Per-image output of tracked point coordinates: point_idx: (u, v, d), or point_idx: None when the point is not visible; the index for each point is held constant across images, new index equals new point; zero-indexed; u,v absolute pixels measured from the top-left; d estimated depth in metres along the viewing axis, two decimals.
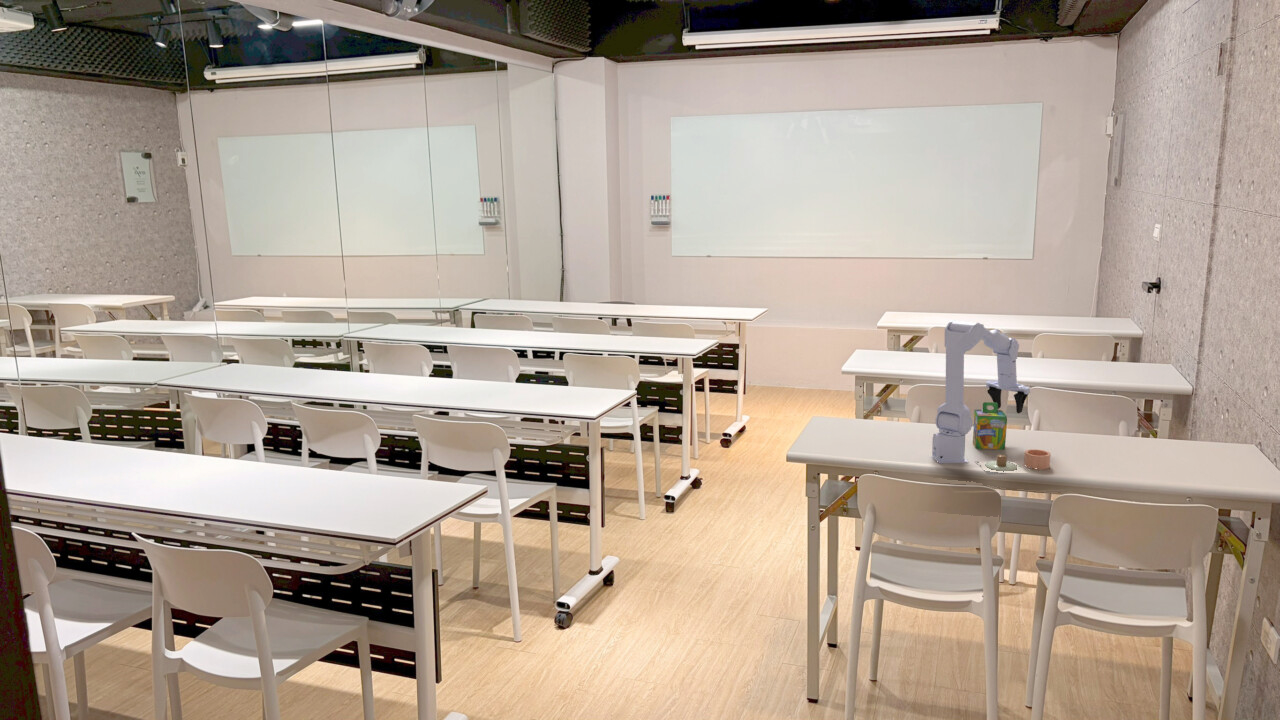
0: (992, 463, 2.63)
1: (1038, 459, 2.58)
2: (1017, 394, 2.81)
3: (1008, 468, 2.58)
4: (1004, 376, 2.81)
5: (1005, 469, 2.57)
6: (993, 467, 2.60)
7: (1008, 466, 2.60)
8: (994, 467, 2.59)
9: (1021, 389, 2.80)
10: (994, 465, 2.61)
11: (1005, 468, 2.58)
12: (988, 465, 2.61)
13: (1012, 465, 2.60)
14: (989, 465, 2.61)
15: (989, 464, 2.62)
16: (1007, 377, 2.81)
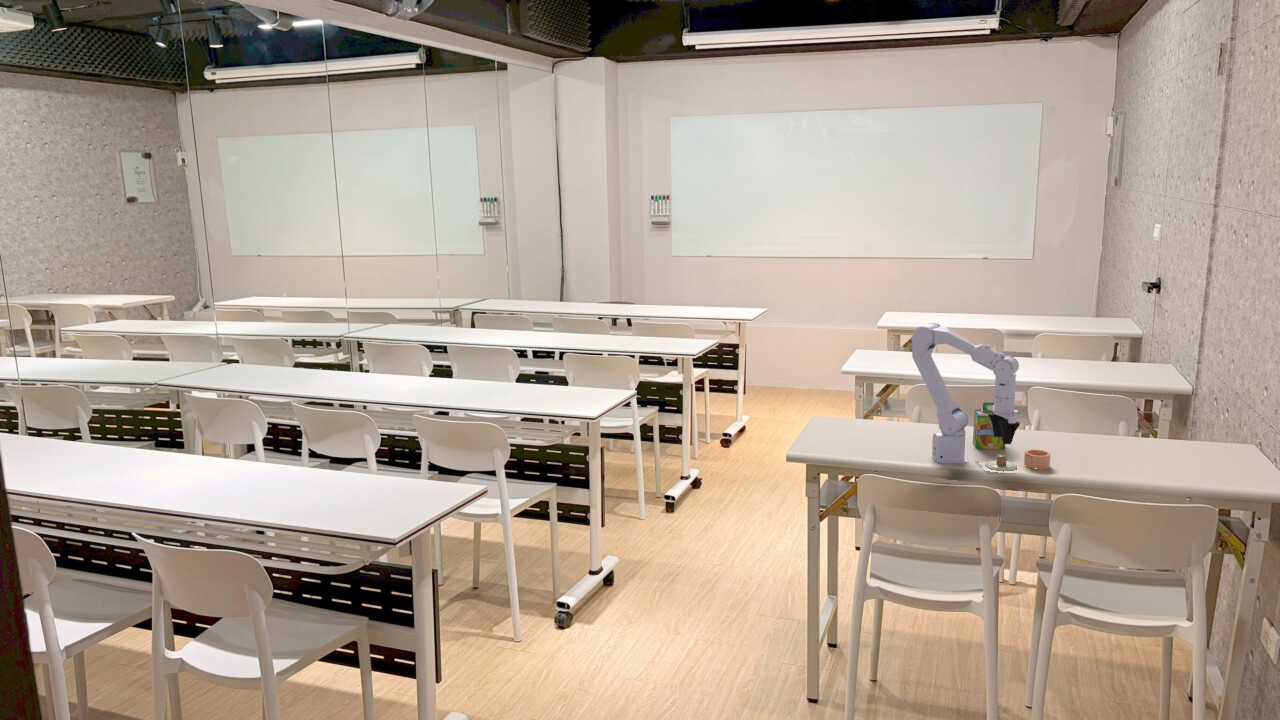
0: (992, 463, 2.63)
1: (1038, 459, 2.58)
2: (1002, 421, 2.54)
3: (1008, 468, 2.58)
4: (996, 399, 2.57)
5: (1005, 469, 2.57)
6: (993, 467, 2.59)
7: (1008, 466, 2.60)
8: (994, 467, 2.59)
9: (1006, 416, 2.52)
10: (994, 465, 2.61)
11: (1005, 468, 2.58)
12: (988, 465, 2.61)
13: (1012, 465, 2.60)
14: (989, 465, 2.61)
15: (989, 464, 2.62)
16: (998, 400, 2.56)
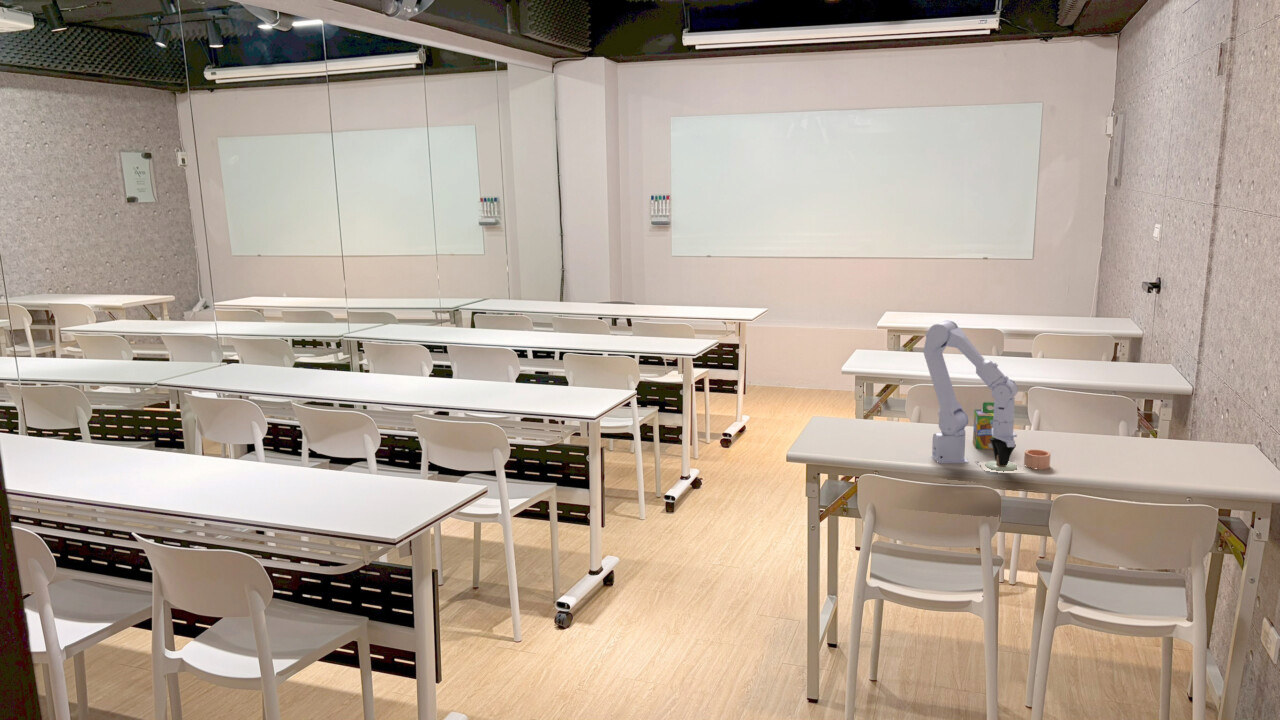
0: (992, 463, 2.63)
1: (1038, 459, 2.58)
2: (998, 443, 2.57)
3: (1008, 468, 2.58)
4: (995, 422, 2.58)
5: (1005, 469, 2.57)
6: (993, 467, 2.59)
7: (1008, 466, 2.60)
8: (994, 467, 2.59)
9: (1005, 440, 2.54)
10: (994, 465, 2.61)
11: (1005, 468, 2.58)
12: (988, 465, 2.61)
13: (1012, 465, 2.61)
14: (989, 465, 2.61)
15: (989, 464, 2.62)
16: (997, 424, 2.57)
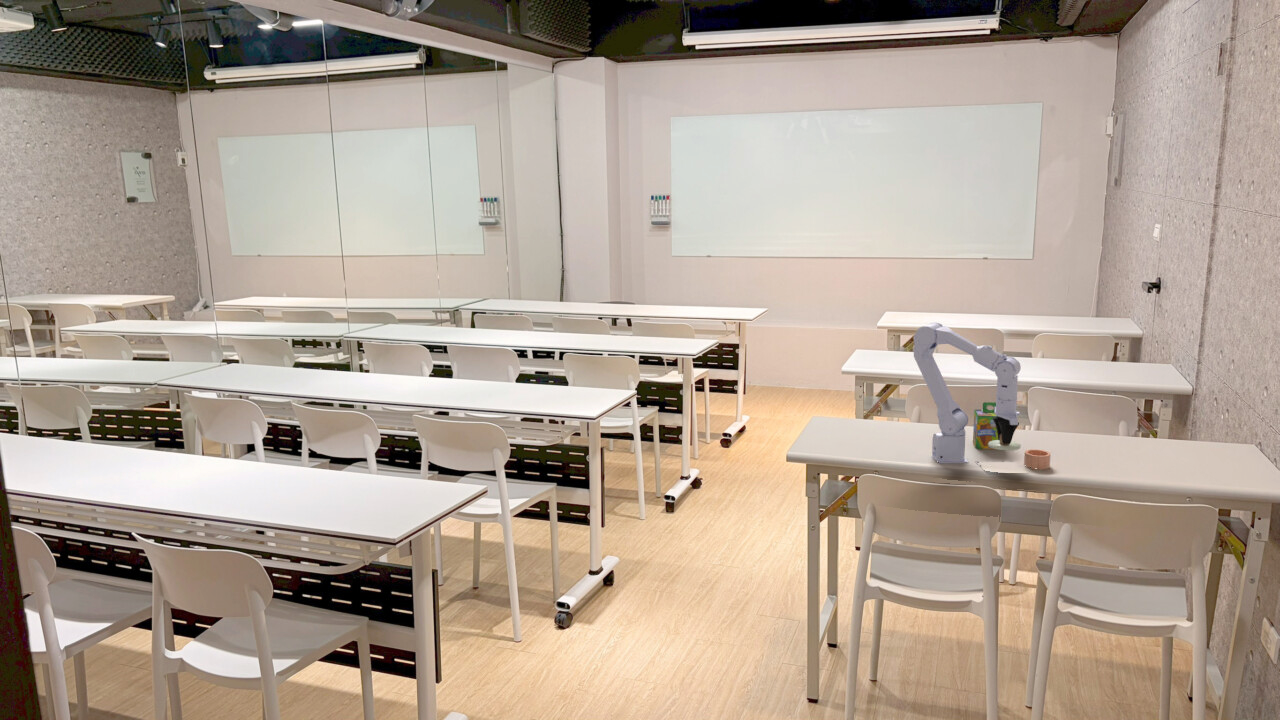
0: (995, 442, 2.62)
1: (1038, 459, 2.58)
2: (1001, 421, 2.56)
3: (1011, 446, 2.57)
4: (998, 400, 2.57)
5: (1008, 447, 2.56)
6: (996, 446, 2.58)
7: (1011, 445, 2.59)
8: (997, 446, 2.58)
9: (1008, 418, 2.53)
10: (997, 444, 2.60)
11: (1008, 446, 2.57)
12: (991, 444, 2.60)
13: (1015, 444, 2.59)
14: (992, 444, 2.60)
15: (992, 443, 2.61)
16: (1000, 402, 2.56)
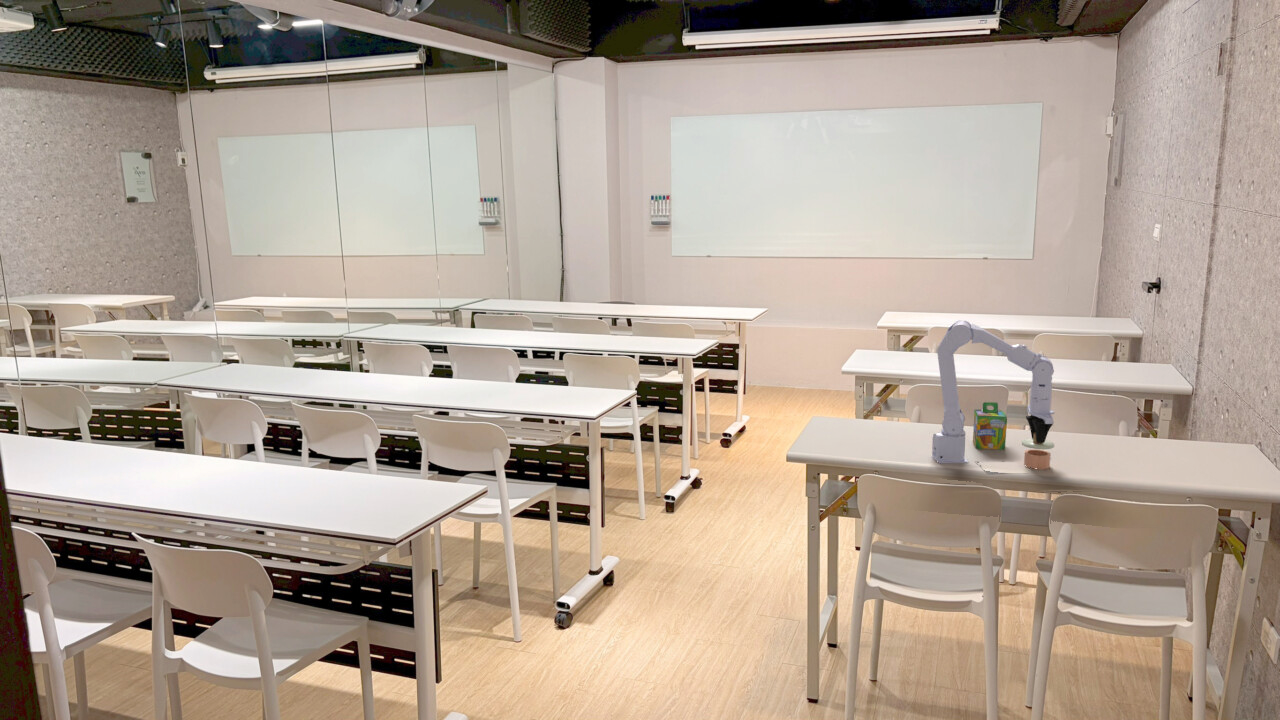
0: (1028, 441, 2.62)
1: (1038, 459, 2.58)
2: (1036, 420, 2.56)
3: (1045, 445, 2.57)
4: (1032, 399, 2.57)
5: (1043, 446, 2.56)
6: (1030, 444, 2.58)
7: (1045, 443, 2.59)
8: (1031, 444, 2.58)
9: (1043, 417, 2.53)
10: (1031, 443, 2.60)
11: (1042, 445, 2.57)
12: (1025, 443, 2.60)
13: (1049, 443, 2.60)
14: (1026, 443, 2.60)
15: (1026, 442, 2.61)
16: (1034, 401, 2.56)
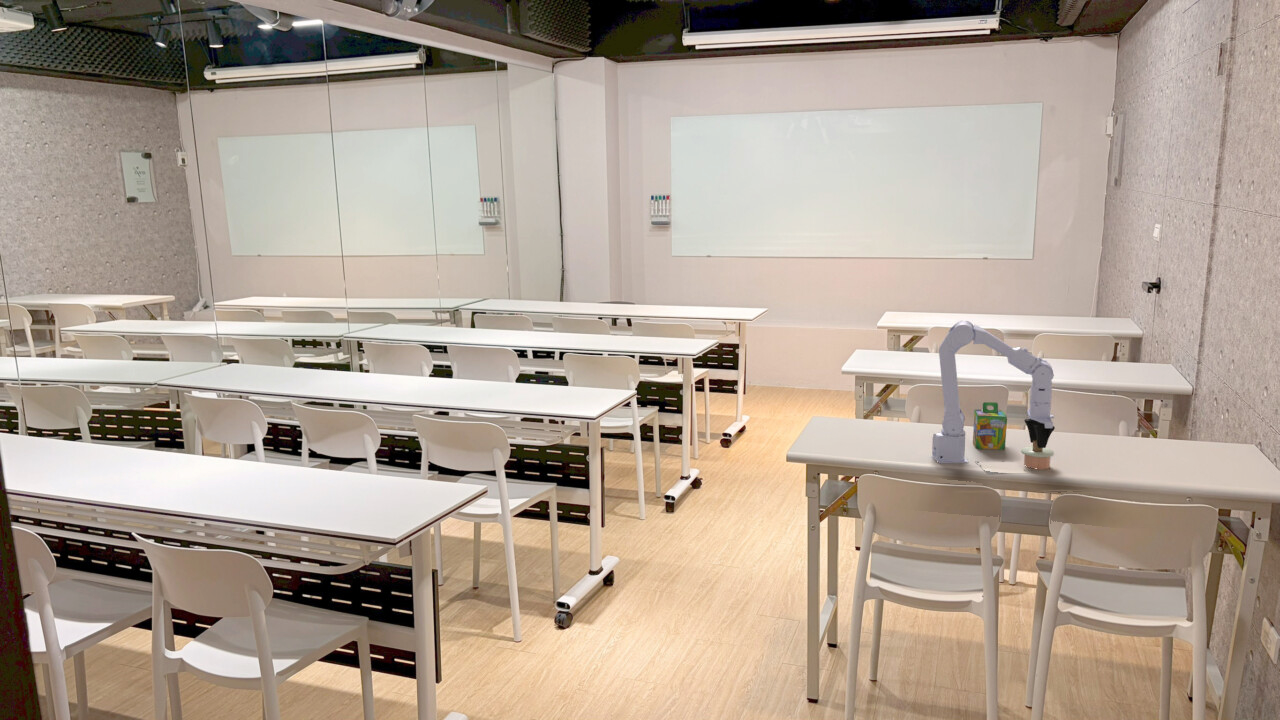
0: (1028, 449, 2.63)
1: (1038, 459, 2.58)
2: (1037, 425, 2.56)
3: (1045, 453, 2.58)
4: (1032, 403, 2.57)
5: (1042, 454, 2.57)
6: (1030, 453, 2.59)
7: (1044, 451, 2.59)
8: (1031, 452, 2.59)
9: (1042, 421, 2.53)
10: (1030, 451, 2.61)
11: (1042, 453, 2.58)
12: (1024, 451, 2.61)
13: (1049, 451, 2.60)
14: (1025, 451, 2.61)
15: (1025, 450, 2.62)
16: (1034, 405, 2.56)
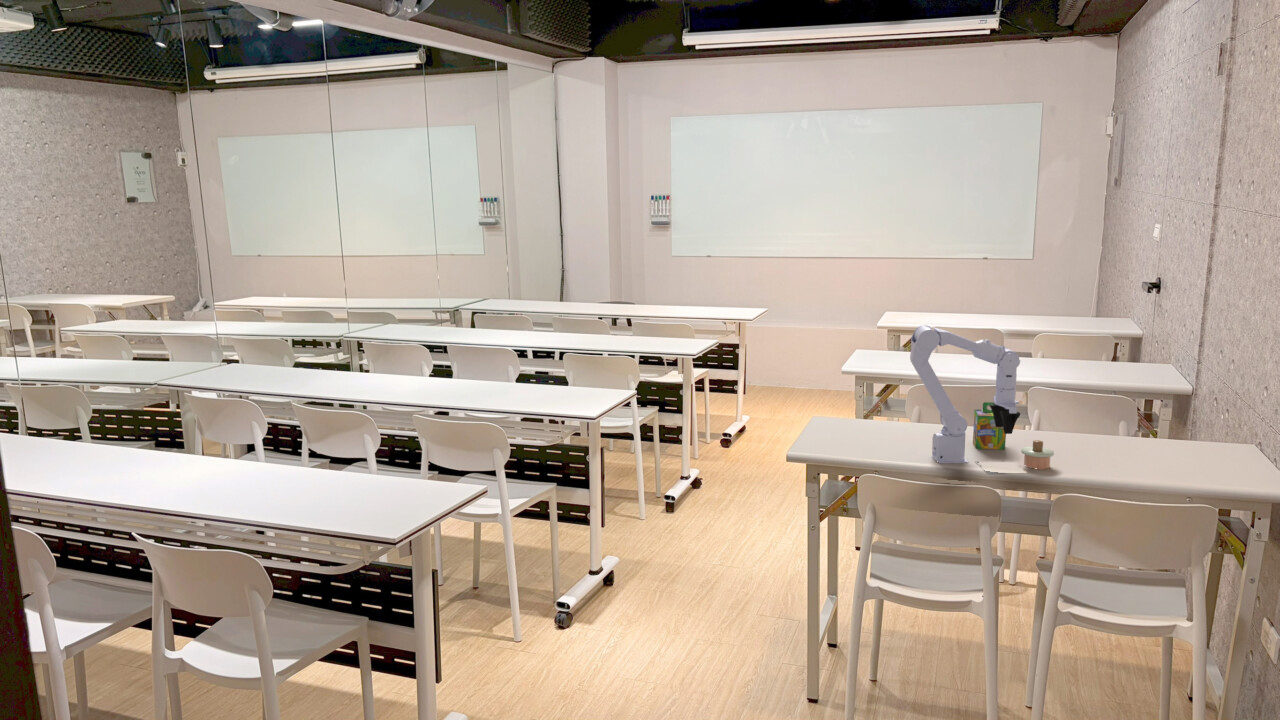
0: (1028, 449, 2.63)
1: (1038, 459, 2.58)
2: (1003, 411, 2.61)
3: (1045, 453, 2.58)
4: (997, 389, 2.64)
5: (1042, 454, 2.57)
6: (1030, 453, 2.59)
7: (1044, 451, 2.59)
8: (1031, 452, 2.59)
9: (1007, 407, 2.60)
10: (1030, 451, 2.61)
11: (1042, 453, 2.58)
12: (1024, 451, 2.61)
13: (1049, 451, 2.60)
14: (1025, 451, 2.61)
15: (1025, 450, 2.62)
16: (999, 391, 2.63)
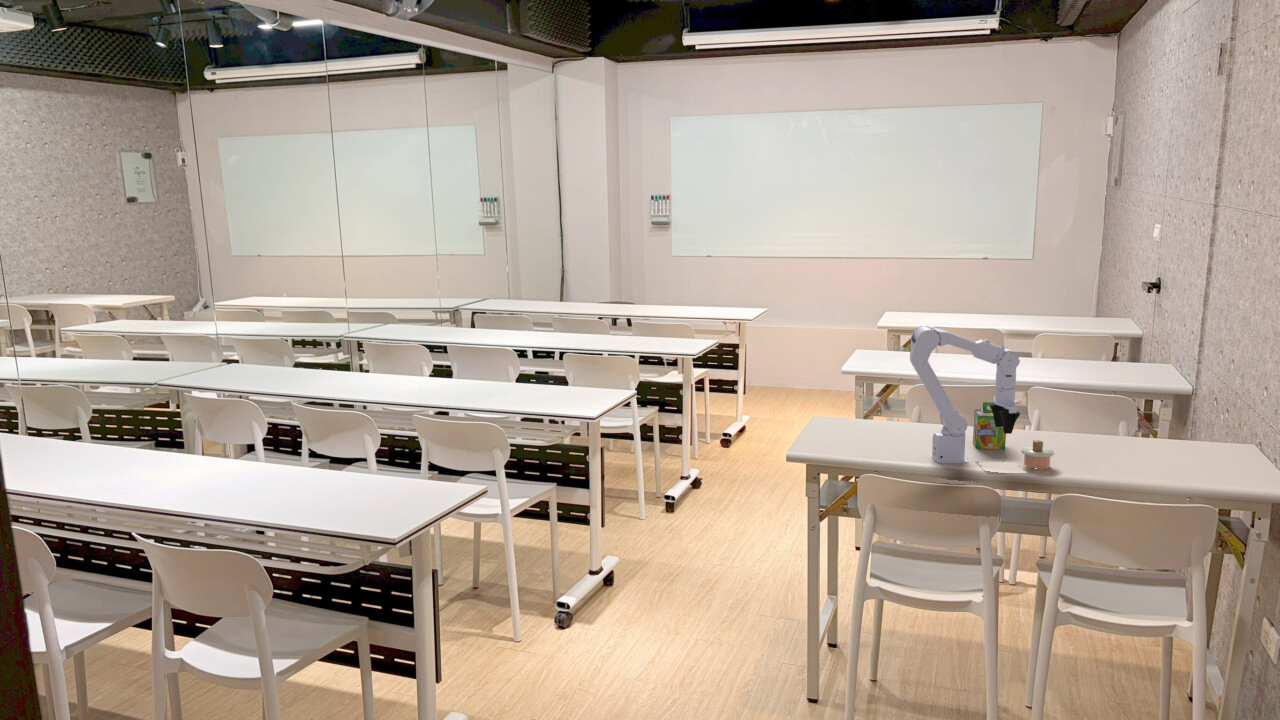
0: (1028, 449, 2.63)
1: (1038, 459, 2.58)
2: (1003, 411, 2.61)
3: (1045, 453, 2.58)
4: (997, 389, 2.64)
5: (1042, 454, 2.57)
6: (1030, 453, 2.59)
7: (1044, 451, 2.59)
8: (1031, 452, 2.59)
9: (1007, 407, 2.60)
10: (1030, 451, 2.61)
11: (1042, 453, 2.58)
12: (1024, 451, 2.61)
13: (1049, 451, 2.60)
14: (1025, 451, 2.61)
15: (1025, 450, 2.62)
16: (999, 391, 2.63)
